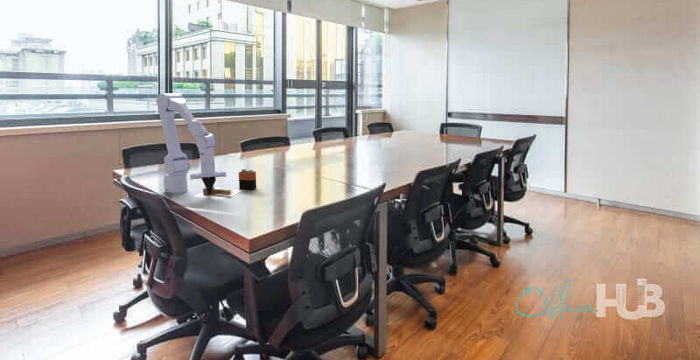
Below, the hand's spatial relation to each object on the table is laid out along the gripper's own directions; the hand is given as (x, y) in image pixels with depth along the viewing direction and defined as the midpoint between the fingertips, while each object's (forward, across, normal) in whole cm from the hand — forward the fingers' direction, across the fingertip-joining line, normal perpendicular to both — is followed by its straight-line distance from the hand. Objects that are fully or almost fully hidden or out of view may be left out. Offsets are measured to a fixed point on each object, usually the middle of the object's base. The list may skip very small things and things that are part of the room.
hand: (209, 194), depth 183 cm
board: (+2, +5, +5) cm, 7 cm away
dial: (+1, +4, +2) cm, 4 cm away
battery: (+2, +18, +7) cm, 20 cm away
